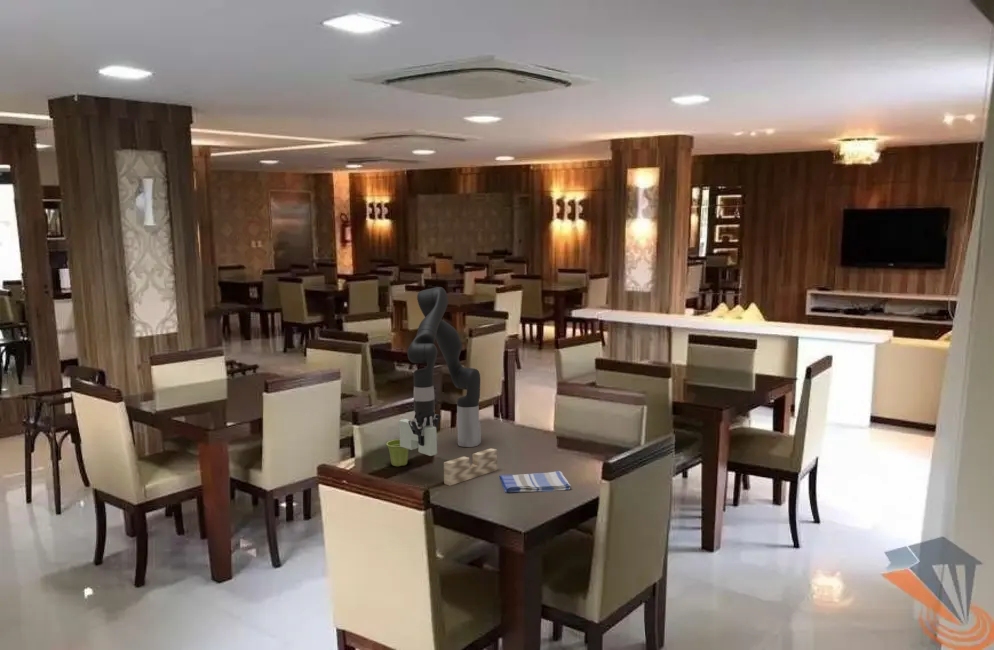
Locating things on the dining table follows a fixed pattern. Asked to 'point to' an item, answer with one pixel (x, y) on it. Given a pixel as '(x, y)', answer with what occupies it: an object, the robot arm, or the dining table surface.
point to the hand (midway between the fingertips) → (425, 444)
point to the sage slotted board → (411, 439)
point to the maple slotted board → (470, 466)
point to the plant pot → (397, 453)
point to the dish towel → (534, 482)
